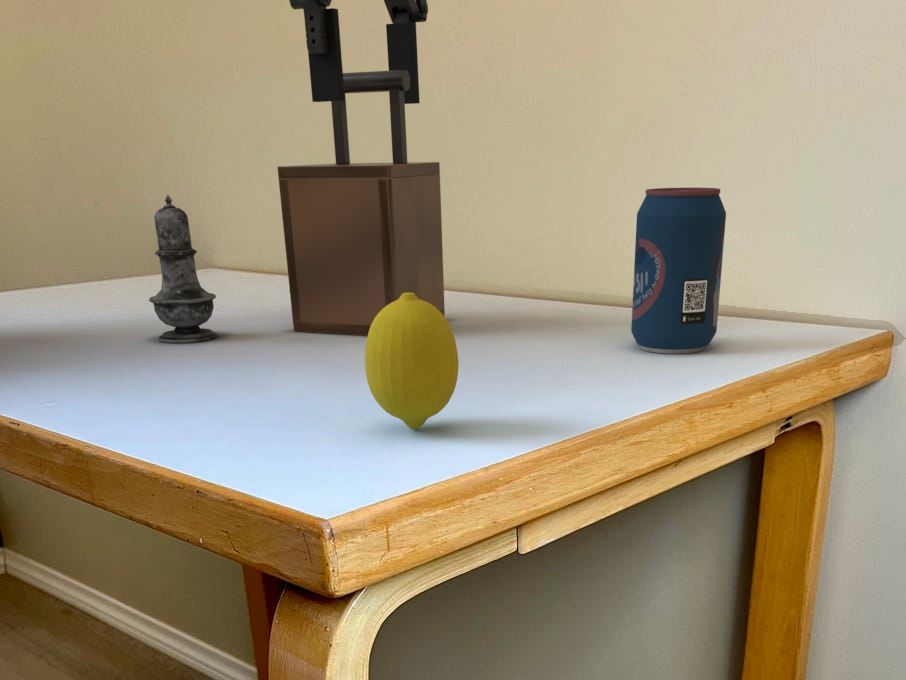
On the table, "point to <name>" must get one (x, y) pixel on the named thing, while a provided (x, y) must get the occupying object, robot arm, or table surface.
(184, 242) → the salt shaker
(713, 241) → the soda can
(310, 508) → the table surface
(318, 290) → the wooden handled box
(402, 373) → the lemon
